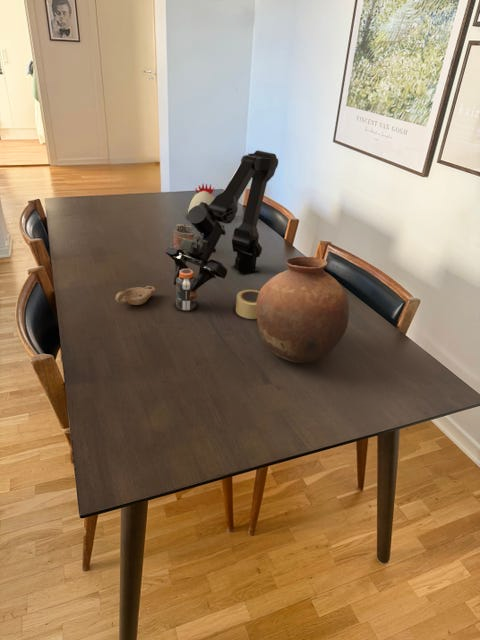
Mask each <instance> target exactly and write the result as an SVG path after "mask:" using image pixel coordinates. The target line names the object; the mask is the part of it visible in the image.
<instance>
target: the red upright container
mask: <svg viewBox="0 0 480 640" xmlns="http://www.w3.org/2000/svg"><path fill="white" fill-rule="evenodd" d="M182 238H183V239H187V240H191V241H192V240H193V238H195V232H194V231H193V227H192V226H190V225H186V224H185V223H182V224H179V223H176V228H174V229H173V246H175V247H177V248H180V244H181V241H182ZM183 251H184V252H185V250H183ZM185 253H186V252H185ZM186 254H187V253H186Z"/></svg>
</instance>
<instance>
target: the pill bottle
mask: <svg viewBox="0 0 480 640" xmlns="http://www.w3.org/2000/svg"><path fill="white" fill-rule="evenodd" d="M194 275H195V274H194V270H192V268H191V269H190V268H188V269H182V270H180V272H179V277H177V279H176V285H175V306H176V308H177V309H179V310H181V311H191V310H193V309H195V308H196V307H197V290H198V289H196V290H195V291H194V292H192V291H191V288H192V286H193V284H194V282H195V280H196V278H197V277H195V276H194Z"/></svg>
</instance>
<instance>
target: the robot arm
mask: <svg viewBox="0 0 480 640" xmlns="http://www.w3.org/2000/svg"><path fill="white" fill-rule="evenodd" d="M278 166H279V158H277V155H276V153H273V152H268V151H263V150H256V151H254V152H253V153H247V154H245V155H242V157H241V159H240V163H239V165H238V167H237V169H236V170H235V172H234V173H233V175H232V177H231V179H230V180H229V182H228V184H227V186H226V187H225V188H224V191H223V192H221V193H219V194H217V195H216V196H215V197H214V200H213V201H212V202H211V204H209V205H208V204H207V203H204V202H201V203H200V204H199V205H197V206H195V207H193V208H192V209H191V210H189V209H188V210H189V212H188V211H187V220H188V221H189V223H190V224H191V225H192V226H193V227H194V229H196V231H197V232H199V234H198V235H197V236H194V238H193V240H192V241H191V240H187V239H183V238H182V241H181V244H180V248H177V247H175V246H174V245H170V246H168V247H167V249H166V251H165V254H166V255H167V256H168V257H169V258H171V259H172V260H173V261H174V265H175V266H174V267H175V269H174V275H173V276H174V277H173V285H174V286H176V279H177V277H179V272H180V270H182V269H189V266H188V265H187V262H188V263H189V264H193V265H195V266H198V267H199V270H198V274H197V276H196V277H195V278H196V280H195V282H194V284H193V286H192V288H191V291H192V292H194V291H195V290H196V289H197V290H198V289H199V288H200V287H202V286H203V285H204V284H206V283H207V282H209V281H210V280H212V279H216V278H217V277H218V278H221V279H225V278H226V276H227V275H228V269H227V267H225V265H224V264H223V263H222V262H220V261H218V260H215V259H212V258H211V256H212V254H215V253H216V251H217V249H216V246H217V244H218V242H219V240H220V238H221V237H222V236H226V230H225V225H223V224H232V222H233V221H234V220H235V218H236V215H237V213H238V210H239V205H238V204H239V203H238V202H239V200H240V199H241V197H242V195H243V193H244V192H245V190H246V189H247V187H248V185H249V183H251V184H250V187H249V188H250V189H249V192H248V196H247V199H246V200H247V201H246V204H245V208H244V214H243V218H242V222H241V224H240V225H239V226H238V227H235V228H234V230H233V234H232V238H231V245H232V251H233V253H236V256H235V259H234V265H233V268H234V269H235V270H236V271H238V272H239V273H240V274H241V275H245V274H250V273H257V272H259V270H258V268H256V266H257V258H260V255H261V254H262V252H263V247H262V245H261V244H260V243H259V238H260V234H259V231H258V227H257V225H258V221H259V217H260V213H261V210H262V205H263V200H264V196H265V193H266V189H267V185H268V182H269V181H270V180H271V179H272V178H274V176H275V173H276V170H277V168H278ZM250 181H251V182H250ZM221 223H222V224H221ZM183 250H185V252H186V253H185V252H184V251H183ZM210 258H211V259H210Z"/></svg>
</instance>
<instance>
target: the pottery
mask: <svg viewBox="0 0 480 640" xmlns="http://www.w3.org/2000/svg"><path fill="white" fill-rule="evenodd" d="M285 265H286V266H287V267H288V269H286V270H284V271H281V272H279V273H277V274H276V275H274V276H273V277H271V278H270V279H269V280H268V281H266V282H265V283H264V285H263V286H262V287H260V290H259V291H260V292H259V294H258V297H257V303H256V312H257V319H256V321H257V329H258V332H259V336H260V338H261V340H262V342H263V344H264V345H265V347H266V349H267V350H268V351H269V352H270V353H272V354H273V355H275V356H277V357H279V358H281V359H282V360H286V361H288V362H292V363H295V364H296V363H297V364H307V363H313V362H316V361H319V360H321V359H322V358H324V357H326V356H327V355H329V354H330V353H332V351H333V350H334V349H335V348H336V346H337V345H338V344H339V343H340V341H341V340H342V339H343V337H344V335H345V334H346V331H347V328H348V325H349V315H350V309H349V308H350V307H349V299H348V296H347V293H346V290H344V288H343V286H342V285H341V283H340V282H338V280H337V279H336V278H334V277H333V275H331V274H329V273H328V272H326V271H325V270H324V269H325V268H326V267H327V266H328V265H329V263H328V261H327V260H325V259H324V258H321V257H314V256H294V257H289V258H287V260H286V261H285Z"/></svg>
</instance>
